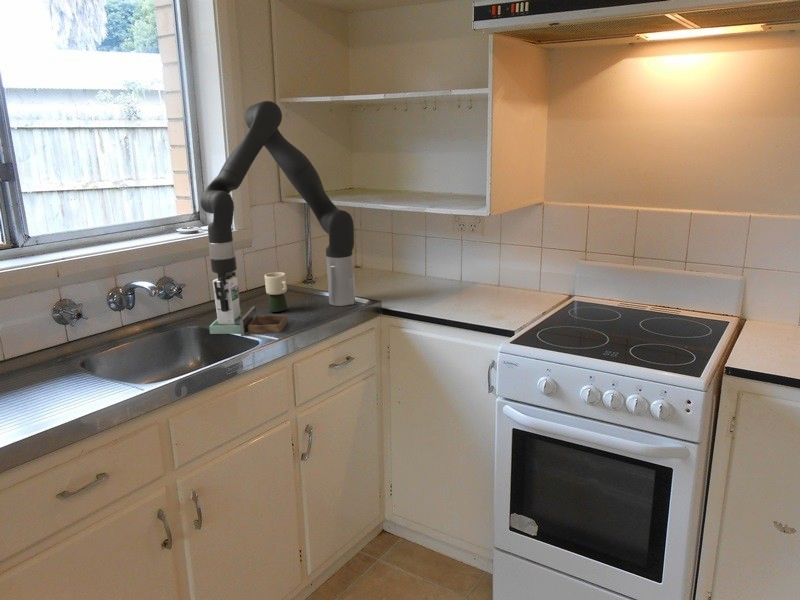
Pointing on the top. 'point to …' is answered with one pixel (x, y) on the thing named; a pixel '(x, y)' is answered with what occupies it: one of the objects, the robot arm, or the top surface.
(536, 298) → the top surface
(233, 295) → the syrup box
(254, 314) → the door edge plate
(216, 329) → the tray
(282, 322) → the brown wooden tray
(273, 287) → the character mug
